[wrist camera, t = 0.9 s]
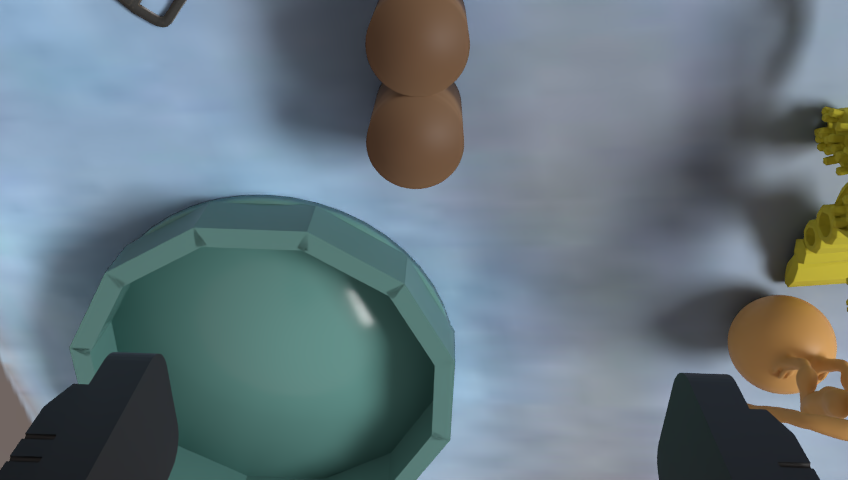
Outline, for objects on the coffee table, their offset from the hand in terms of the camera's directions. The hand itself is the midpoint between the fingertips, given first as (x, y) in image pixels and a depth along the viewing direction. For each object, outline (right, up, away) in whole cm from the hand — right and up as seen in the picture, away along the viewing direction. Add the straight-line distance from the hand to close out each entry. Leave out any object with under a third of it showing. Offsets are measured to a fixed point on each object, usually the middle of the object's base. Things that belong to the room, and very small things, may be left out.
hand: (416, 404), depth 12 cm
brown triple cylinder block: (0, +10, +14) cm, 18 cm away
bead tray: (-6, -3, +22) cm, 23 cm away
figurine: (+15, 0, +20) cm, 25 cm away
